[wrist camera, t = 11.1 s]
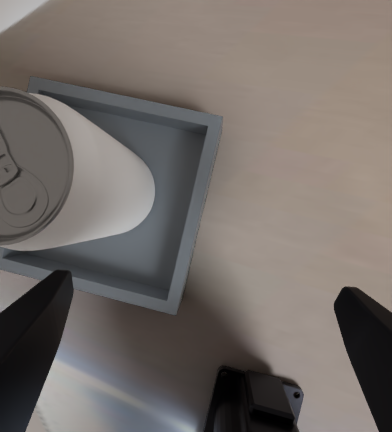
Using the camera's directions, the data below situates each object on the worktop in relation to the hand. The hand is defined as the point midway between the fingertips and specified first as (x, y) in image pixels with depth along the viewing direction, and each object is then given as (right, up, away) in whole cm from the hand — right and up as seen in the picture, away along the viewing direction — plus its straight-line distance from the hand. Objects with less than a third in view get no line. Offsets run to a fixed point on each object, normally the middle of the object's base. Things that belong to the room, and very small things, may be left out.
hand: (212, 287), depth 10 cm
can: (-7, +4, +13) cm, 15 cm away
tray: (-7, +4, +13) cm, 15 cm away
